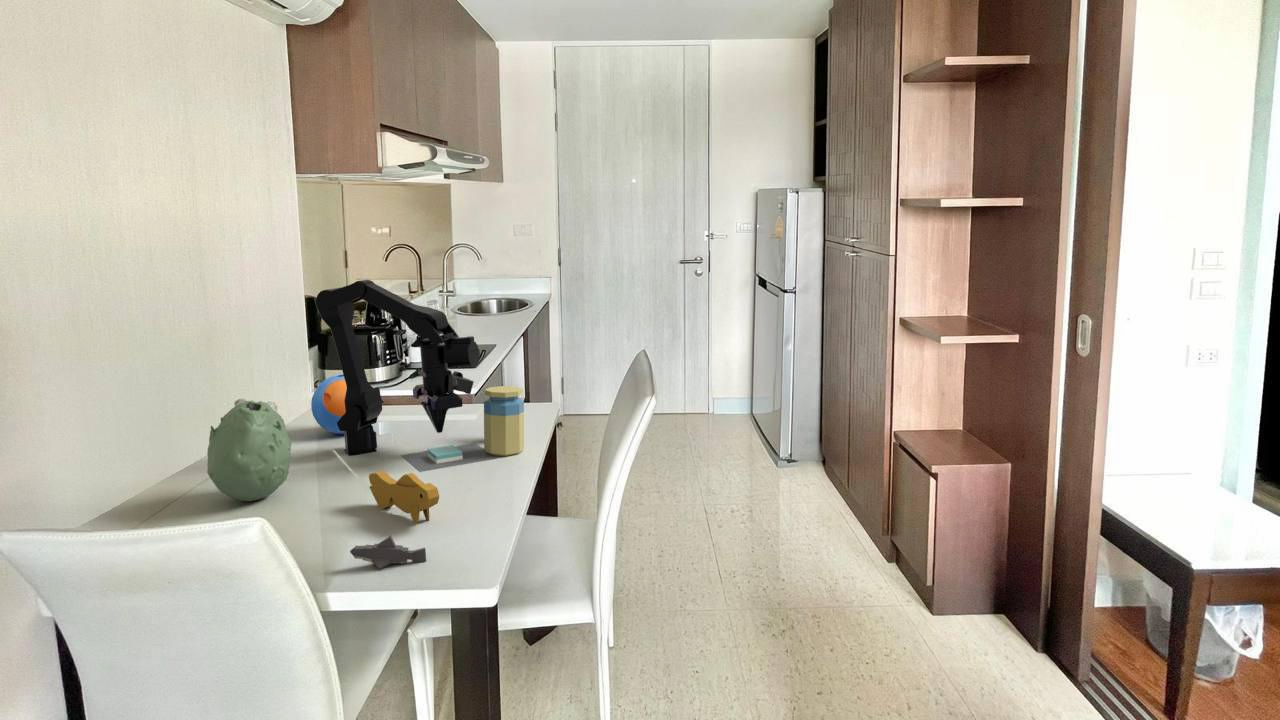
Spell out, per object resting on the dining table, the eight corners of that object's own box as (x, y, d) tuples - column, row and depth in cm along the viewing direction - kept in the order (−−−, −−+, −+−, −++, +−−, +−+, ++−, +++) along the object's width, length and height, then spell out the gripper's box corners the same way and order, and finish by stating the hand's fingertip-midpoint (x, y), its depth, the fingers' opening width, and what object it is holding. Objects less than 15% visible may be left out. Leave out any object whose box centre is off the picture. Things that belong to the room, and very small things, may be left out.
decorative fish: (447, 520, 158) (436, 466, 158) (431, 525, 156) (420, 470, 156) (389, 520, 174) (379, 470, 174) (374, 524, 172) (364, 474, 172)
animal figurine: (426, 563, 146) (429, 534, 145) (424, 574, 141) (427, 544, 141) (351, 558, 143) (354, 528, 143) (346, 569, 139) (349, 538, 138)
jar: (526, 456, 202) (525, 392, 200) (485, 458, 200) (484, 393, 198) (522, 447, 211) (521, 385, 209) (483, 448, 209) (482, 386, 207)
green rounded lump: (199, 517, 168) (186, 415, 165) (226, 487, 186) (216, 395, 183) (285, 510, 171) (274, 409, 167) (304, 481, 189) (295, 390, 186)
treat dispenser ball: (373, 423, 240) (369, 368, 237) (379, 436, 226) (374, 377, 223) (313, 430, 234) (307, 373, 232) (315, 443, 220) (309, 383, 218)
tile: (427, 456, 204) (436, 463, 198) (427, 449, 203) (436, 456, 197) (453, 452, 207) (462, 459, 201) (452, 445, 206) (462, 451, 200)
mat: (420, 473, 192) (419, 471, 192) (400, 456, 206) (400, 455, 205) (498, 459, 201) (498, 458, 200) (474, 444, 214) (474, 443, 214)
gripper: (482, 367, 197) (486, 435, 200) (455, 356, 213) (460, 419, 216) (433, 373, 192) (438, 442, 195) (409, 362, 208) (415, 426, 211)
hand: (439, 432), depth 204 cm, fingers closed
